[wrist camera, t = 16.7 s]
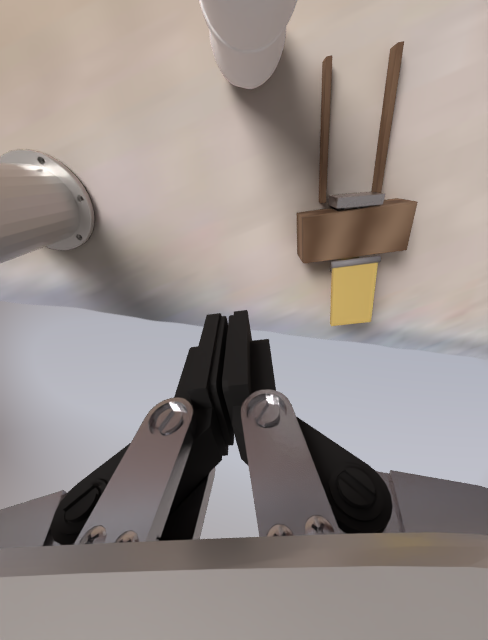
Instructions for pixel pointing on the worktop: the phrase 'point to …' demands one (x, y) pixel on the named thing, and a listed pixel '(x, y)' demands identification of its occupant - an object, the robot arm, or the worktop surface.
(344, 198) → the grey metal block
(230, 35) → the water bottle
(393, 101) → the block
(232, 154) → the worktop surface
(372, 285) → the yellow grey-edged tile
